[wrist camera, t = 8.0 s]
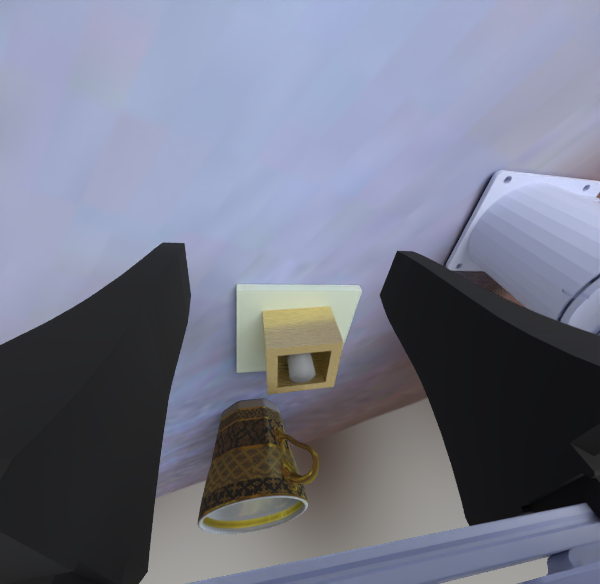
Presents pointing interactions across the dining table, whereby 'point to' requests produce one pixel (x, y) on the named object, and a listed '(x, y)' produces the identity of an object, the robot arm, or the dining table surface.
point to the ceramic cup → (253, 472)
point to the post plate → (287, 297)
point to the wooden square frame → (301, 346)
